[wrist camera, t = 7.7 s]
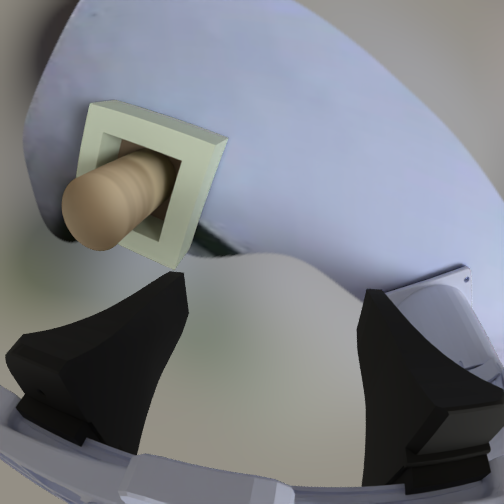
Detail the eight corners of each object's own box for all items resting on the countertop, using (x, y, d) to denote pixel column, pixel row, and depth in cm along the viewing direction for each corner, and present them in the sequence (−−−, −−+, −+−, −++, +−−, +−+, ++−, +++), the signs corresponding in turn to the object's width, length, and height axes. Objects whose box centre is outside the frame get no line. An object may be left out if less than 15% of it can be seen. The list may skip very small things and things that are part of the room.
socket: (228, 138, 19) (215, 145, 16) (189, 249, 23) (174, 270, 20) (115, 99, 18) (89, 103, 16) (93, 206, 22) (70, 221, 20)
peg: (141, 213, 22) (87, 260, 16) (114, 165, 20) (50, 198, 14) (186, 189, 20) (139, 233, 14) (158, 137, 19) (98, 160, 13)
